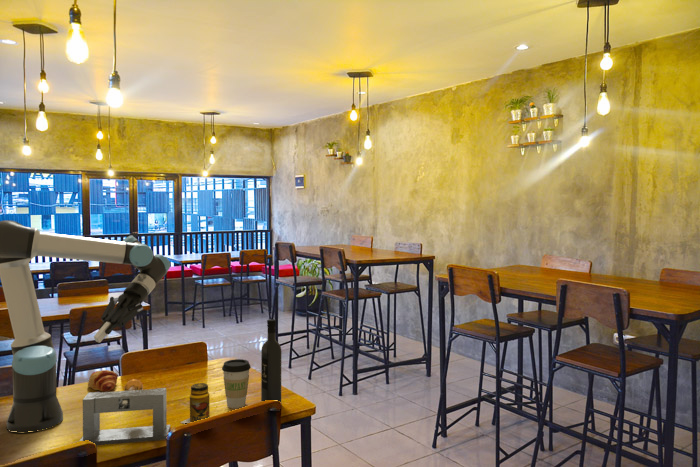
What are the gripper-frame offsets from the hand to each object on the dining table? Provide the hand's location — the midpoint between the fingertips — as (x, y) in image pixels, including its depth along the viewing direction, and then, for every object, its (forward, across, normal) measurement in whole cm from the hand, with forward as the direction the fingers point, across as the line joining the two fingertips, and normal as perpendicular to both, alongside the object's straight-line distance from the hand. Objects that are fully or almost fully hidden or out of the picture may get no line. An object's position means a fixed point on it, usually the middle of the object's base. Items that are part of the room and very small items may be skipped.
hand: (96, 339), depth 165 cm
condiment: (+8, +38, +18) cm, 43 cm away
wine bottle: (-9, +55, +27) cm, 62 cm away
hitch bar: (+22, +24, +10) cm, 34 cm away
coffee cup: (-5, +44, +26) cm, 51 cm away
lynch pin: (+14, +20, +7) cm, 25 cm away
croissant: (-3, -13, +39) cm, 41 cm away
